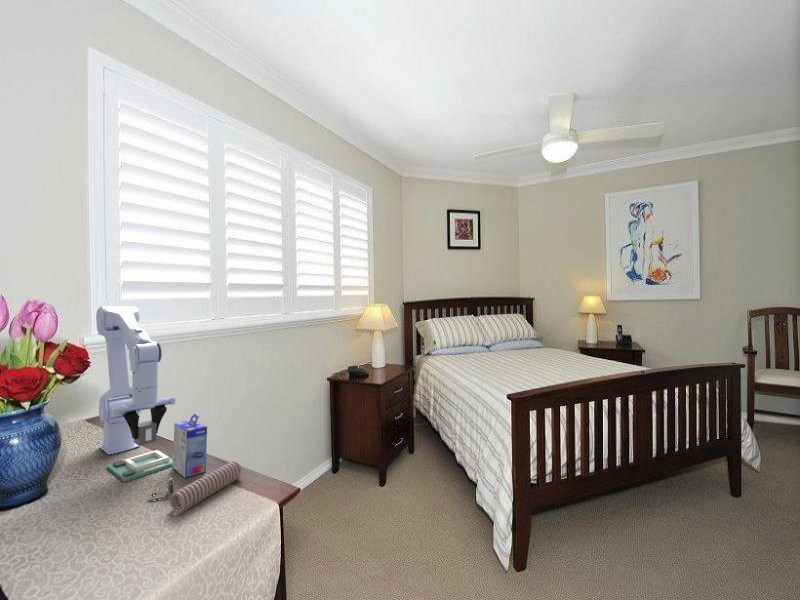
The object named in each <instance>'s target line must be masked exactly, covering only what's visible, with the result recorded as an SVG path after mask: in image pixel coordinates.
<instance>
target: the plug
mask: <svg viewBox="0 0 800 600" xmlns="http://www.w3.org/2000/svg"><path fill="white" fill-rule="evenodd" d="M155 442H157V434H156V423H155V422H153V421H152V419H151V420H150V419H149V420H147V421H143V422H138V439H134V443H136V444H137V445H139V446H140V447H141V446H144V445H148V444H152V443H155Z"/></svg>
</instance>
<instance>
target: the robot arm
mask: <svg viewBox="0 0 800 600" xmlns="http://www.w3.org/2000/svg"><path fill="white" fill-rule="evenodd" d="M95 317H96V318H95V321H96V330H97V334H98V335H100V336H102V337H104V340H105V344H106V353H107V354H106V355H107V356H106V357H107V365H108V367H107V368H108V377H109V378H108V379H109V380H108V381H109V389H108V390H107V391H105V392H104V393H102V395H101V396H100V398H99V400H98V401H99V405H98V416H99V418H100V419H99V420H101V421H102V422H103V423H104V424H103V425H102V426H103V427H102V428H103V429H102V430H103V431H102V433H103V434H102V445H99V446H98V448H99V447H100V448H101V449H100V448H99V449H100V450H102V449H103V450H104V451H105V452H104V451H103V450H102V451H103V452H104V453H105V454H107V455H109V456H110V454H112V455H115V454H118V452H119V453H122V452H126V451H129V450H133V449H136V447H137V448H140V447H141V446H139V445H137V444H136V443H134V439H138V423H140V422H139V421H140V414H141V413H142V411H144V410H149V409H150V410H149V411H150V417H151V418H150V419H151V421H153V422H155V423H156V435H158V431H159V427H160V424H161V422H162V420H163V418H164V416H165V414H166V412H167V411H168V409H167V407H166V406H168V405H171V406H172V405H175V404H176V397H174V396H167V397H160V398H158V394H159V393H158V387H159V385H158V382H159V381H158V379H159V377H158V375H159V373H158V372H159V371H158V370H159V365H158V363H160V362H161V360H162V356H163V355H162V351H163V350H162V346H161V344H160V342H159V341H155V340H154V341H153V340H152V339H151V337H150V336H149V334H148V333H147V331H146V330H145V329H143V328H141V327H139V325H138V323H139V320H140V311H139V309H138V307H137V306H135V305H132V306H102V305H101V306H99V308H97V310H96V316H95ZM126 348H127V349H128V357H127V349H126ZM127 358H128V359H129V362H130V364H129V365H130V371H131V372H132V375H131V377H132V380H131V381H132V386H130V381H129V368H128V360H127ZM125 450H126V451H125ZM114 453H115V454H114Z"/></svg>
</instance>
